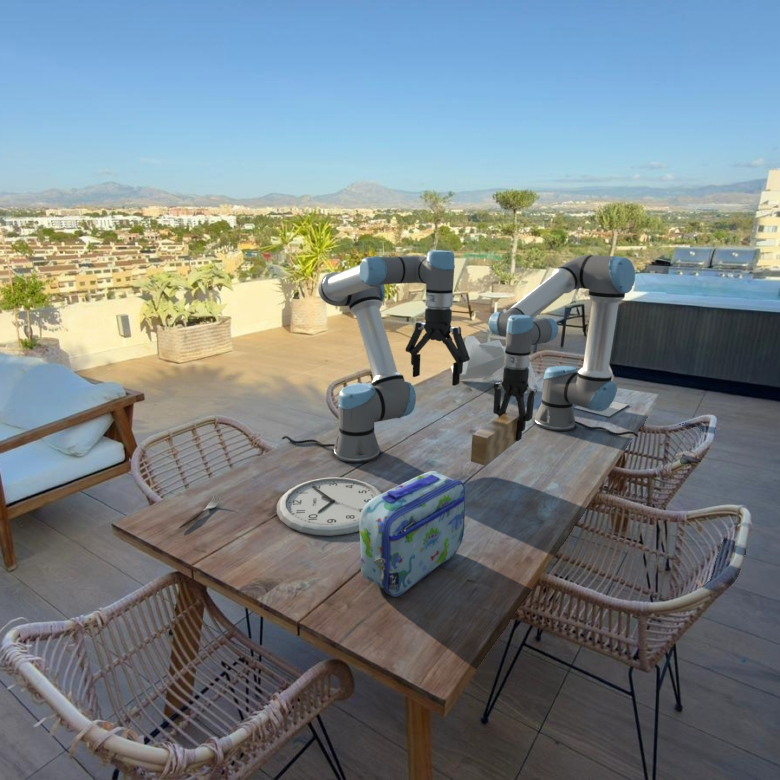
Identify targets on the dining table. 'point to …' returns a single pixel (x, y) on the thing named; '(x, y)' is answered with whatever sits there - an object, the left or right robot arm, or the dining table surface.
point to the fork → (209, 506)
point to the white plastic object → (486, 360)
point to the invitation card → (609, 411)
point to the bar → (494, 438)
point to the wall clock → (326, 505)
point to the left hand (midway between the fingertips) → (435, 380)
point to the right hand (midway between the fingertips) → (510, 437)
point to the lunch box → (411, 531)
